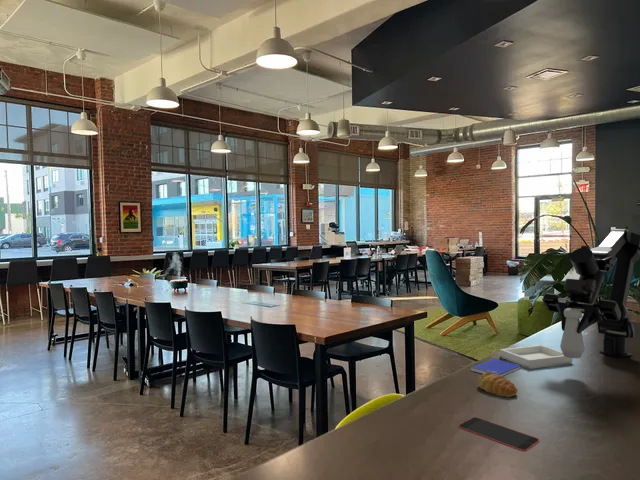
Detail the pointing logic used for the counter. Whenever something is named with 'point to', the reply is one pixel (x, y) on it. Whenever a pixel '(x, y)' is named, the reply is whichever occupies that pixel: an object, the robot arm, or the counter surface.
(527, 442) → the smartphone
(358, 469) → the counter surface
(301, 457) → the counter surface
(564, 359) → the tray
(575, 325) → the salt shaker
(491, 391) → the pastry
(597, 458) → the counter surface
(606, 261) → the robot arm
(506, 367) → the hard drive
